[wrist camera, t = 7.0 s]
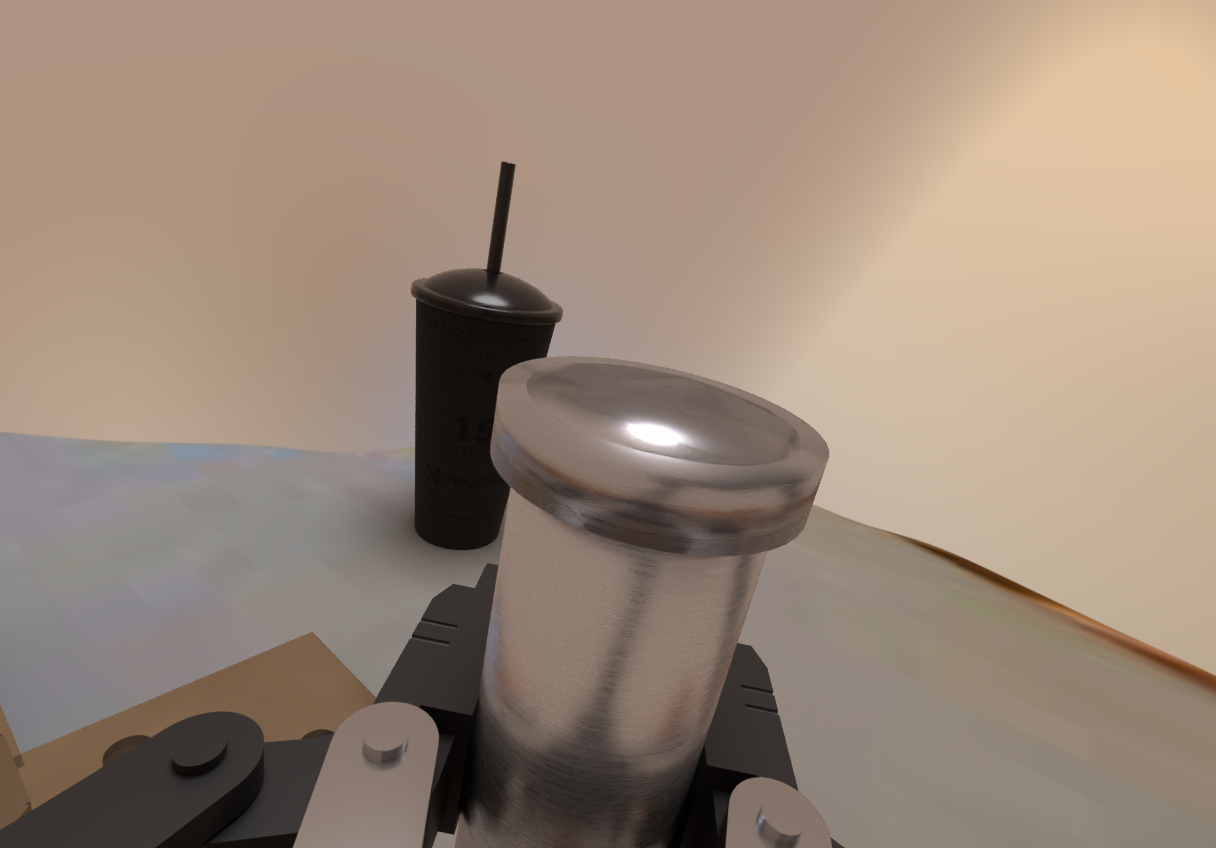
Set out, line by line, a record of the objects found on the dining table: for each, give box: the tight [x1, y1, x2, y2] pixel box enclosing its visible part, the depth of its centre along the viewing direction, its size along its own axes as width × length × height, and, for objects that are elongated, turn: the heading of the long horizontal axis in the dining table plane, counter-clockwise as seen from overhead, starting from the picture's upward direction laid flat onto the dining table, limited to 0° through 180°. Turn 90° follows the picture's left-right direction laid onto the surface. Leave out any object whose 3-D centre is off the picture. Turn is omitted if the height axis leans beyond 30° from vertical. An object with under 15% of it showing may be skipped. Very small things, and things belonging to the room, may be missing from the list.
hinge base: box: [0, 632, 376, 830], centre depth 18 cm, size 16×16×4 cm
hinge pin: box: [455, 356, 829, 848], centre depth 9 cm, size 4×4×12 cm
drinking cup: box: [411, 162, 563, 549], centre depth 32 cm, size 8×8×20 cm
